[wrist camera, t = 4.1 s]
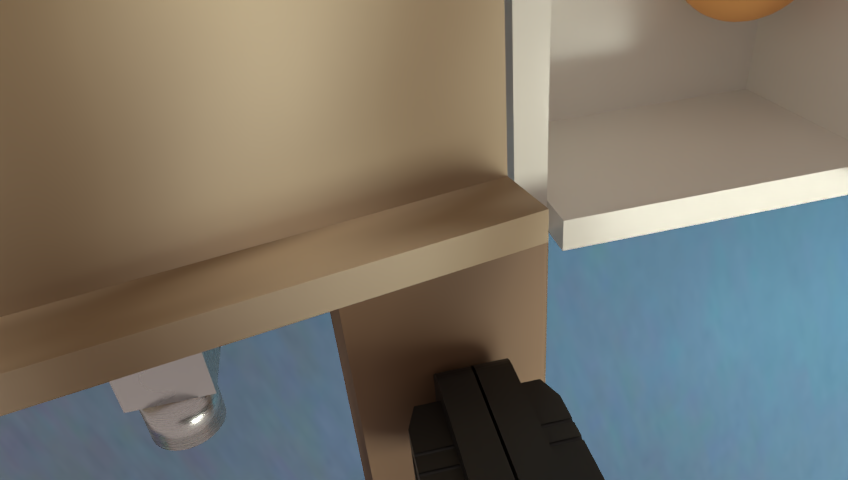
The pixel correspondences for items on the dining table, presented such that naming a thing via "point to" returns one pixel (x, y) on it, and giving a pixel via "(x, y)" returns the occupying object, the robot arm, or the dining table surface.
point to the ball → (738, 8)
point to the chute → (263, 195)
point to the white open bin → (672, 112)
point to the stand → (176, 400)
